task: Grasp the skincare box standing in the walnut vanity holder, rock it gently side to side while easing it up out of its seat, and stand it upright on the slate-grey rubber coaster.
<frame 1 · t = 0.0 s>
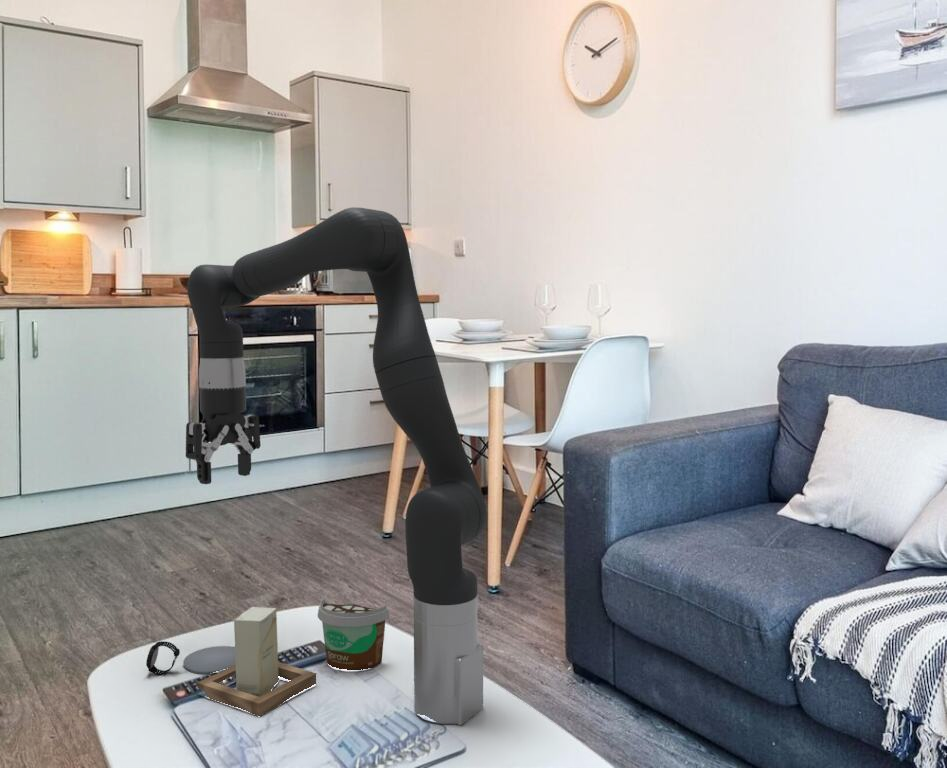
hand: (225, 479, 146), 29 cm above the table, fingers open, 8 cm apart
skincare box: (257, 691, 132), resting in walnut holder
slate coaster: (215, 661, 142), on the table
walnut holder: (257, 690, 131), on the table
smartwatch: (162, 675, 137), on the table
food container: (347, 668, 140), on the table
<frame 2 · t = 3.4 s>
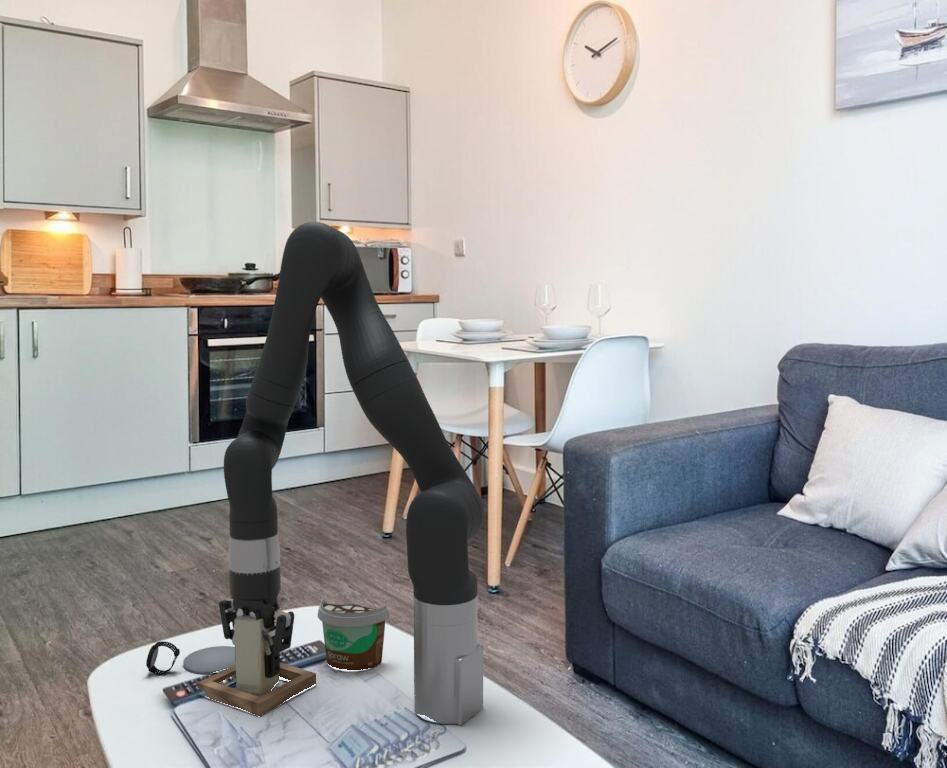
hand: (257, 671, 131), 3 cm above the table, fingers closed on skincare box, 5 cm apart
skincare box: (257, 691, 132), resting in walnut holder, touching gripper
everything else where it was.
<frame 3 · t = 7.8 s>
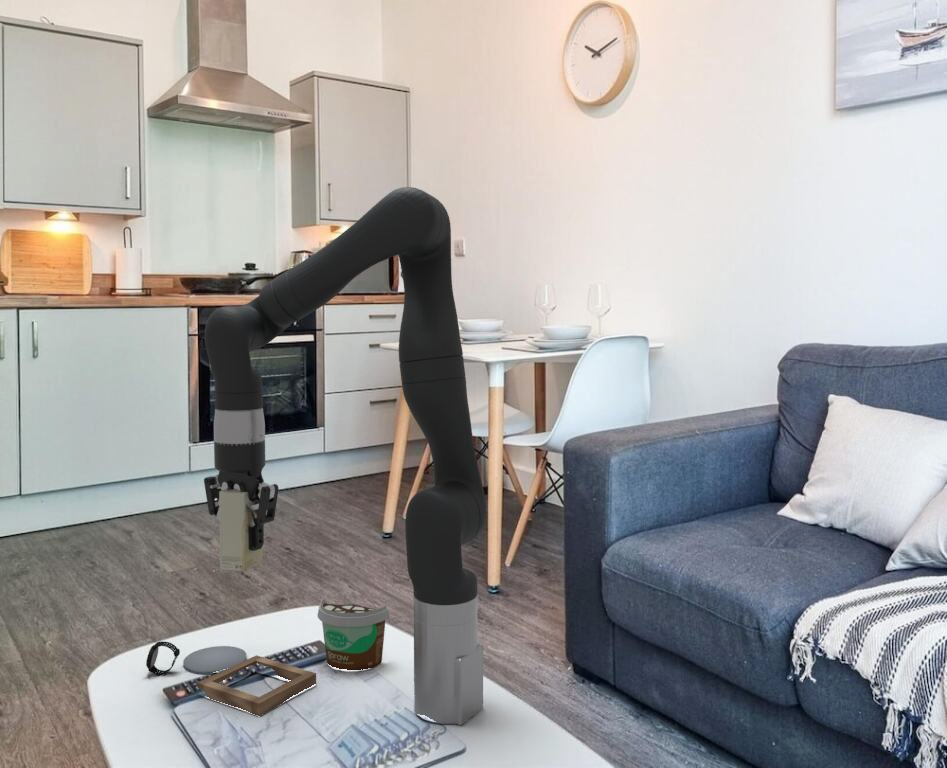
hand: (241, 546, 132), 22 cm above the table, fingers closed on skincare box, 5 cm apart
skincare box: (241, 566, 133), point 19 cm above the table, touching gripper
everything else where it was.
when the fingers open (5 cm above the table, at t = 12.3 s): skincare box drops 1 cm, resting on slate coaster.
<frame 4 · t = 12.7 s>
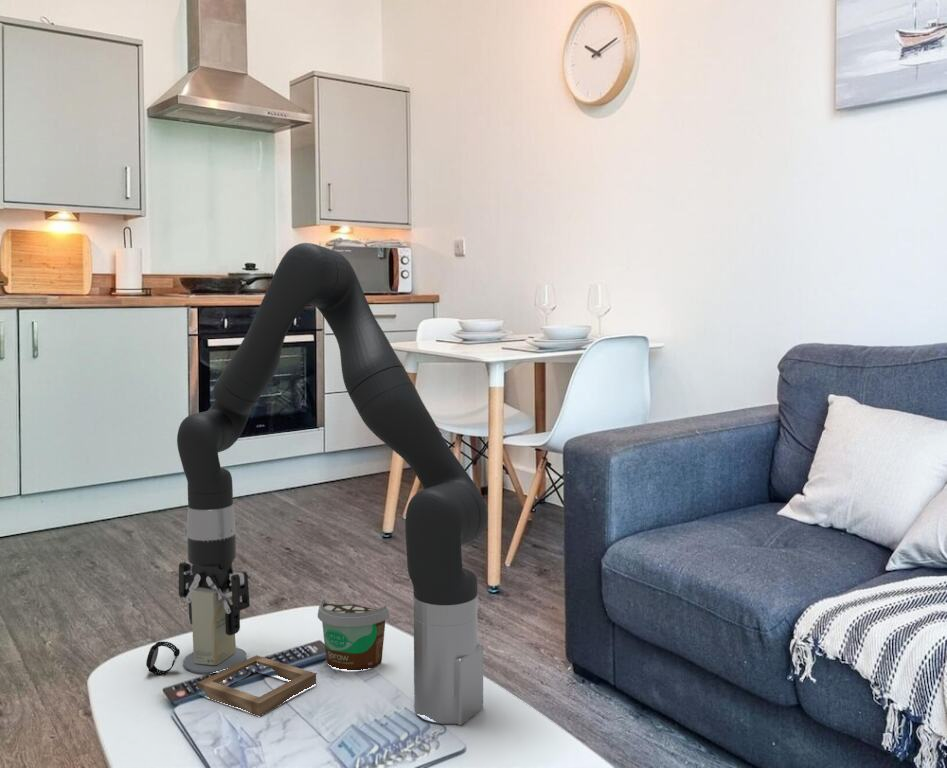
hand: (214, 628, 142), 6 cm above the table, fingers open, 8 cm apart
skincare box: (215, 659, 142), resting on slate coaster
everything else where it was.
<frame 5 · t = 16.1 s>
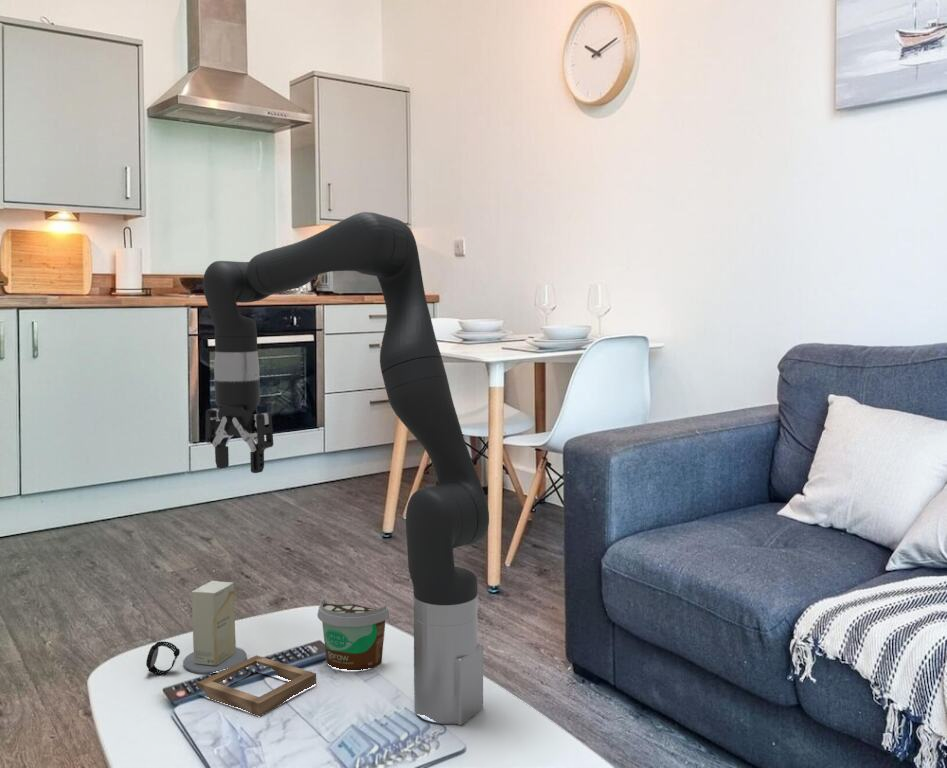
hand: (239, 470, 150), 30 cm above the table, fingers open, 8 cm apart
nothing on the table moved.
at the end: skincare box 0.0 cm off-centre on the slate coaster, point 0.4 cm above the slate coaster's base; skincare box tilted 0°; the gripper is holding nothing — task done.
